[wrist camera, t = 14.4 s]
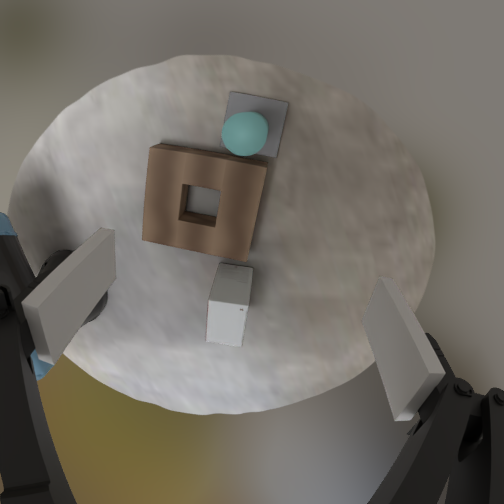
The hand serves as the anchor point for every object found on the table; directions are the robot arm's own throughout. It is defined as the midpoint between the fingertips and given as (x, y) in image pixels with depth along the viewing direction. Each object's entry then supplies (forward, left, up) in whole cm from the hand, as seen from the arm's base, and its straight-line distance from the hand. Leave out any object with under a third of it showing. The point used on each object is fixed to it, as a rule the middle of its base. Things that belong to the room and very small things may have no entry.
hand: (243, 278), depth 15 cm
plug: (-2, +4, -32) cm, 32 cm away
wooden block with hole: (-7, -7, -32) cm, 34 cm away
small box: (-1, -21, -33) cm, 39 cm away
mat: (-2, +5, -32) cm, 33 cm away
